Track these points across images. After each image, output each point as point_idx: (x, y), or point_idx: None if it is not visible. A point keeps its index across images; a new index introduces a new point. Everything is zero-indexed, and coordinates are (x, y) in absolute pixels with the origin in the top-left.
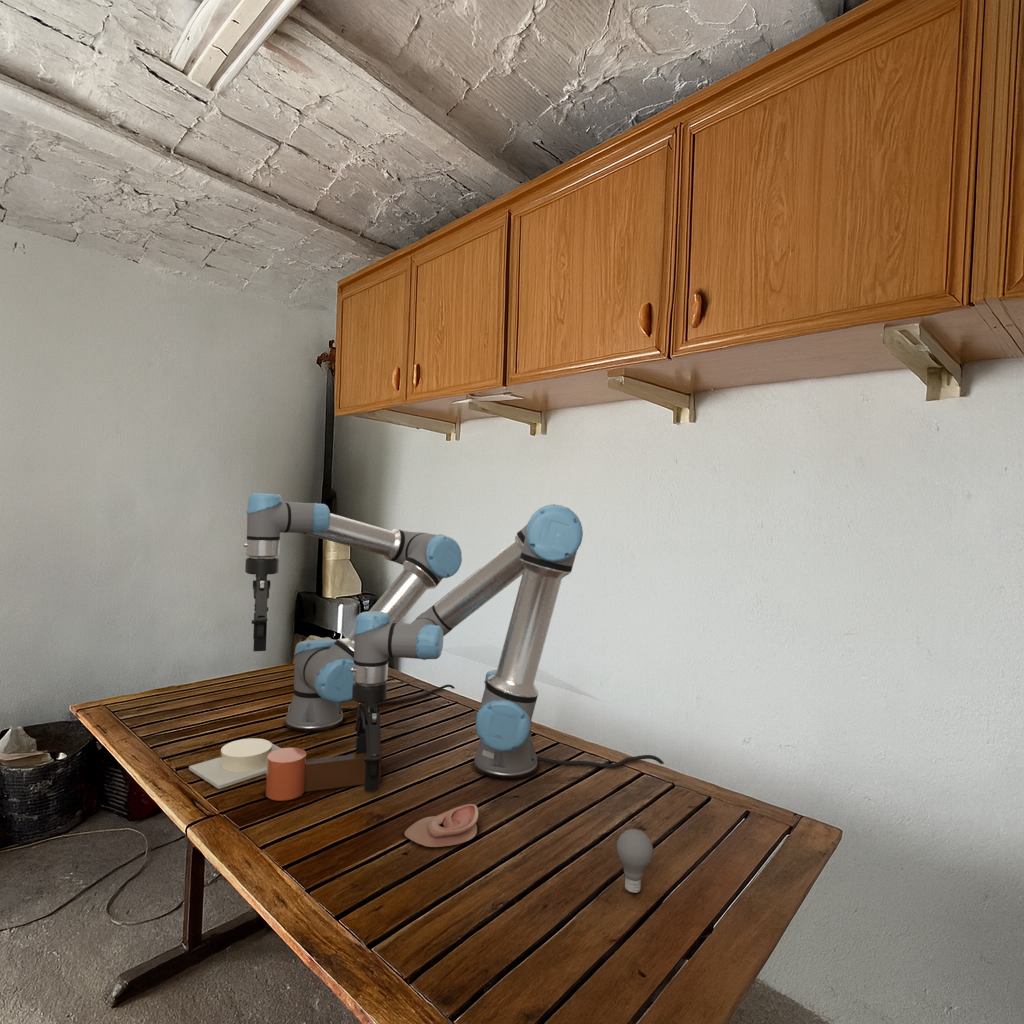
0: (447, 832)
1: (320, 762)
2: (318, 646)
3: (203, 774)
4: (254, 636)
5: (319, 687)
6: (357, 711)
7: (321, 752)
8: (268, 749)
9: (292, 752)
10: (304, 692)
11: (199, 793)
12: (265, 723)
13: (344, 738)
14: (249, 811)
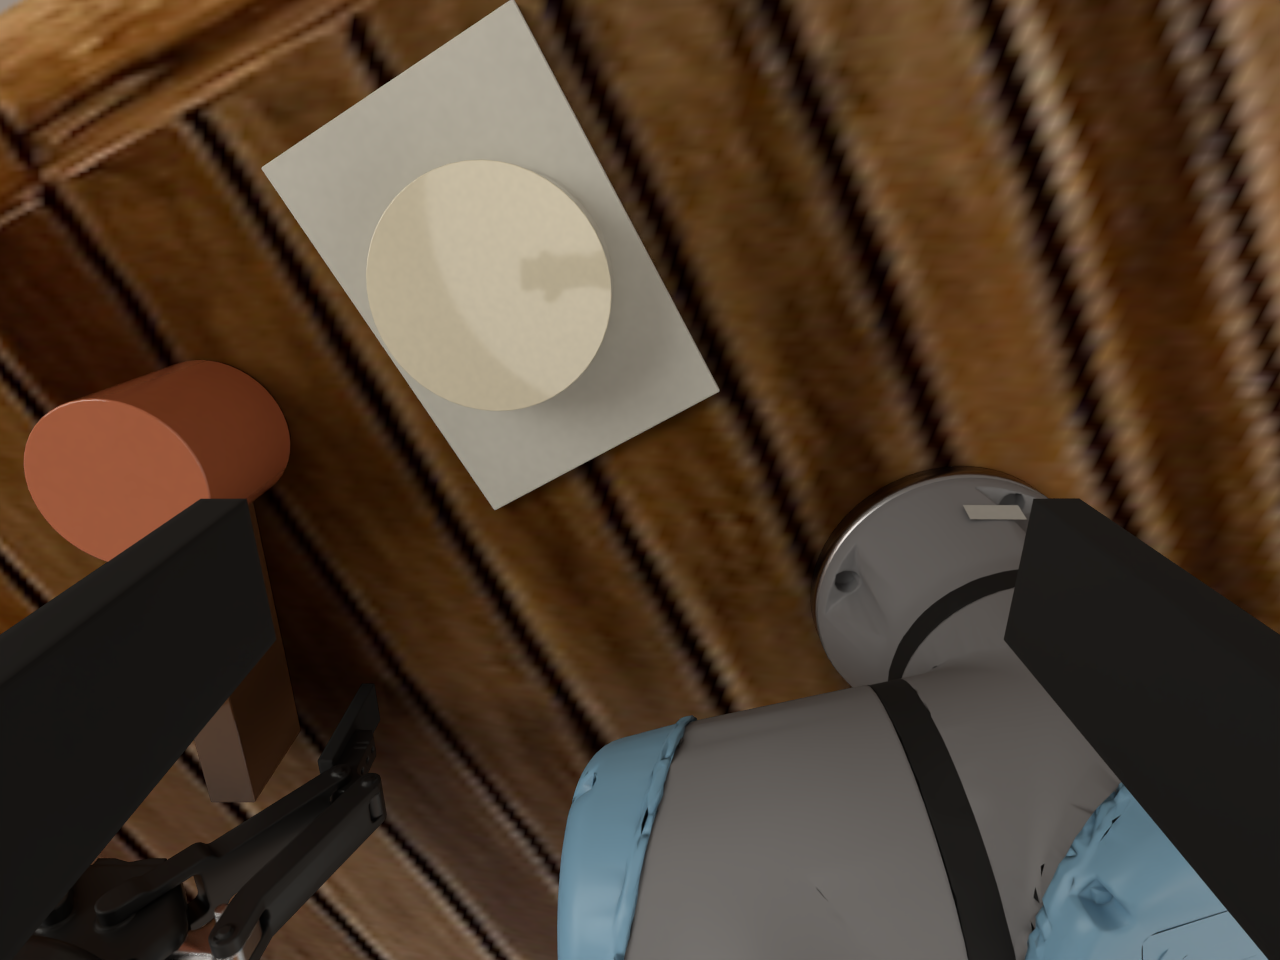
0: None
1: None
2: (1036, 958)
3: (394, 85)
4: (41, 619)
5: (609, 761)
6: (300, 857)
7: (577, 582)
8: (439, 393)
9: (143, 511)
10: (932, 632)
11: (237, 82)
12: (1030, 374)
13: (703, 675)
14: (58, 299)
